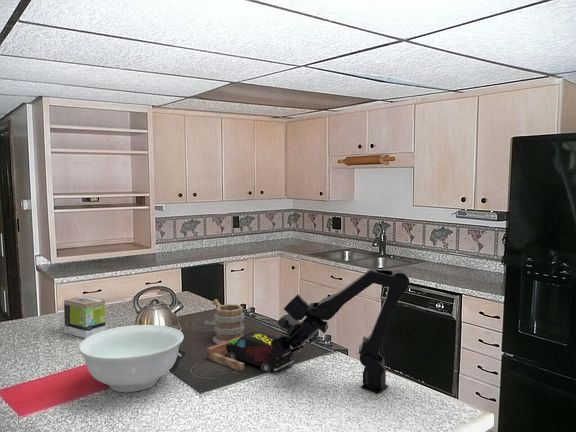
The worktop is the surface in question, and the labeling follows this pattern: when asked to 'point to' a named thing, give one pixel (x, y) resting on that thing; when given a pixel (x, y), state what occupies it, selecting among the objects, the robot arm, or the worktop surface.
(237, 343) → the toy van
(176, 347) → the bowl
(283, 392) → the worktop surface
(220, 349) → the wooden corner rails
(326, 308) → the robot arm
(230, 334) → the tankard
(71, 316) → the tea box
